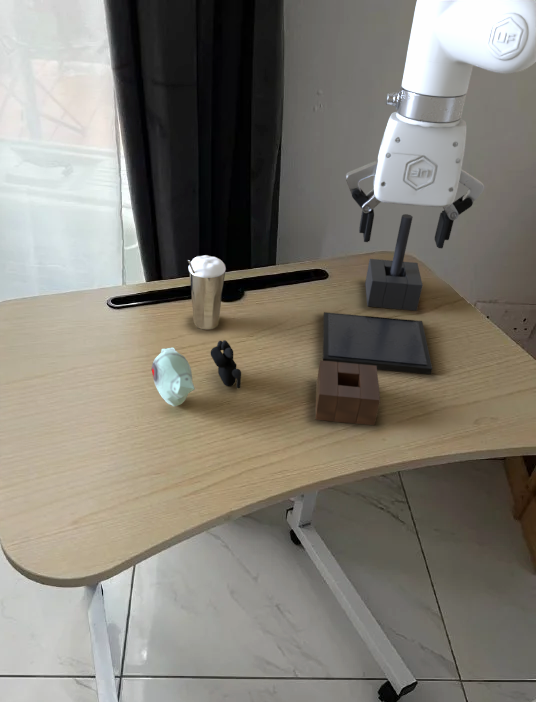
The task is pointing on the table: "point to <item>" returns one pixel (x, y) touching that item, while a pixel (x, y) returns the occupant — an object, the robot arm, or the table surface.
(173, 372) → the robot head
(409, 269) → the dock
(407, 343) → the tablet
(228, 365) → the wireless earbuds
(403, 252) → the stylus
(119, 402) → the table surface
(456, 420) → the table surface
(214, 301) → the milkshake
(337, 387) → the pen stand
